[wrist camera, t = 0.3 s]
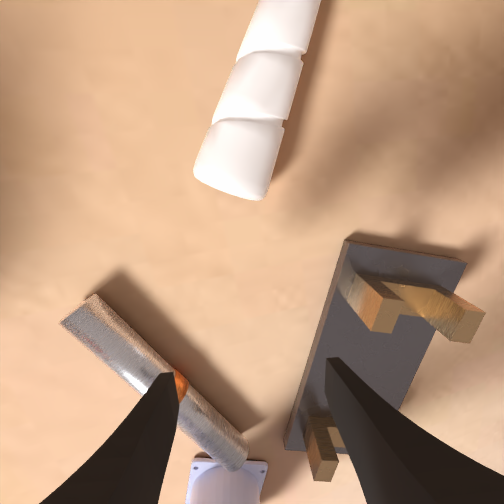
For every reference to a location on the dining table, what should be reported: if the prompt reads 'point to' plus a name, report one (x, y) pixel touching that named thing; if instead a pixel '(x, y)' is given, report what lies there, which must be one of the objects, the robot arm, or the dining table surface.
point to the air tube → (145, 372)
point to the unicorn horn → (257, 100)
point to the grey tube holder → (376, 335)
